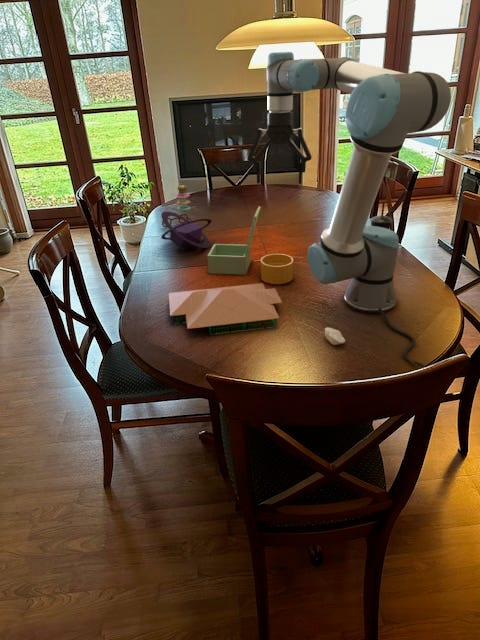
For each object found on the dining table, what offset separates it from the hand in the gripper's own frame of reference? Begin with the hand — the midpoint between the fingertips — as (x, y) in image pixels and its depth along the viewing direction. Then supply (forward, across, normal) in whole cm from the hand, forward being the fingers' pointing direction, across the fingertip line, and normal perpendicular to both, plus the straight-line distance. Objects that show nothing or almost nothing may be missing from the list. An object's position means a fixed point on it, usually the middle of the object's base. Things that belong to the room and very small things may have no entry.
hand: (279, 182), depth 145 cm
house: (+31, +12, +34) cm, 48 cm away
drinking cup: (+31, -36, -17) cm, 50 cm away
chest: (+31, +18, +1) cm, 35 cm away
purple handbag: (+31, +39, -17) cm, 53 cm away
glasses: (+31, +48, -39) cm, 69 cm away
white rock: (+31, -20, +46) cm, 59 cm away
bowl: (+31, 0, +8) cm, 32 cm away
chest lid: (+16, +9, 0) cm, 19 cm away
